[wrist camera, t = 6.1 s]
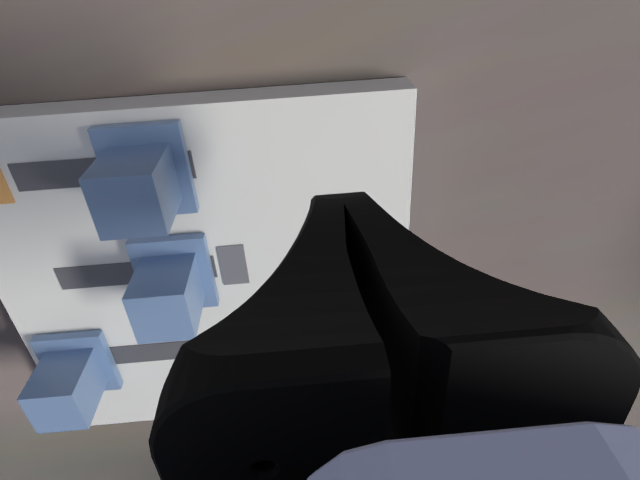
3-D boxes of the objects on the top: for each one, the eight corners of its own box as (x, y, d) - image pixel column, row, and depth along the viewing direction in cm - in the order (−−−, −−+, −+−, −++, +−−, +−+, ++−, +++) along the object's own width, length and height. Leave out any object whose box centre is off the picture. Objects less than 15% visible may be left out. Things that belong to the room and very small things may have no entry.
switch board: (393, 374, 24) (399, 399, 23) (81, 401, 24) (69, 428, 23) (406, 76, 16) (417, 89, 15) (-65, 110, 16) (-96, 125, 15)
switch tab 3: (219, 299, 19) (210, 350, 17) (149, 305, 19) (130, 357, 17) (204, 232, 17) (192, 278, 15) (127, 238, 17) (103, 286, 15)
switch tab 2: (199, 207, 17) (185, 251, 14) (120, 213, 17) (92, 258, 14) (180, 119, 15) (161, 152, 13) (91, 125, 15) (55, 160, 13)
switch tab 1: (123, 382, 21) (103, 437, 19) (60, 387, 21) (32, 444, 19) (102, 329, 19) (77, 383, 17) (33, 335, 19) (-2, 390, 17)
